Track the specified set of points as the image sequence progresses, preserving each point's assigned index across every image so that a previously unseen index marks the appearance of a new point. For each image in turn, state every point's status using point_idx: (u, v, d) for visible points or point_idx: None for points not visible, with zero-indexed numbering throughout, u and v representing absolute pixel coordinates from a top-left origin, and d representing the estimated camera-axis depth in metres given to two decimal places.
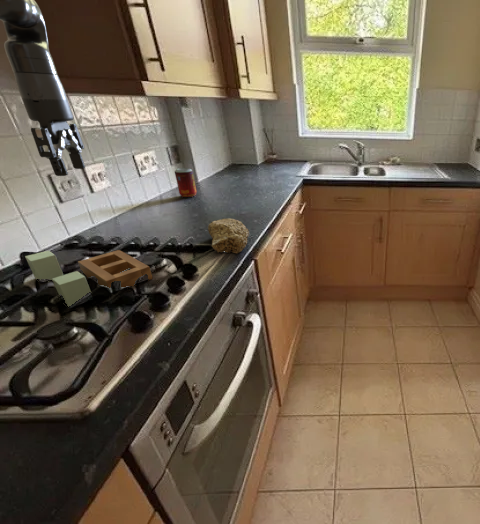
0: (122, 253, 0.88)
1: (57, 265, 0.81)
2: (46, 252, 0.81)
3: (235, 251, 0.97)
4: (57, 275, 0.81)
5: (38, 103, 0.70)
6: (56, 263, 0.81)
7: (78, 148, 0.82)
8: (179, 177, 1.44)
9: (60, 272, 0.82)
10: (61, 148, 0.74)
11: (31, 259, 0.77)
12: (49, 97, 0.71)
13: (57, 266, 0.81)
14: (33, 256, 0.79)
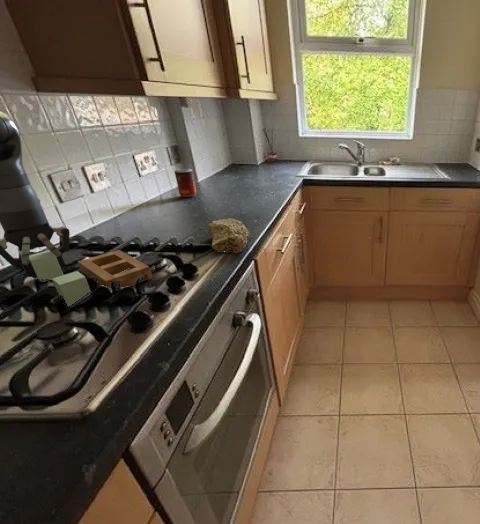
0: (122, 253, 0.88)
1: (57, 265, 0.81)
2: (46, 252, 0.81)
3: (235, 251, 0.97)
4: (57, 275, 0.81)
5: None
6: (56, 263, 0.81)
7: (54, 253, 0.80)
8: (179, 177, 1.44)
9: (60, 272, 0.82)
10: (25, 255, 0.76)
11: (31, 259, 0.77)
12: (1, 210, 0.70)
13: (57, 266, 0.81)
14: (33, 256, 0.79)
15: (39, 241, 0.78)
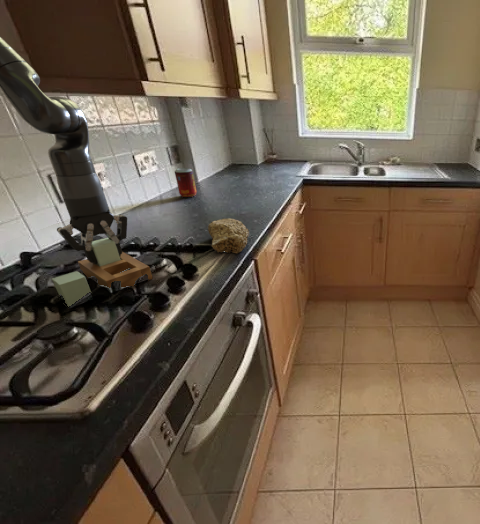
0: (122, 253, 0.88)
1: (116, 252, 0.83)
2: (106, 240, 0.83)
3: (235, 251, 0.97)
4: None
5: (65, 201, 0.74)
6: (115, 250, 0.83)
7: (113, 240, 0.83)
8: (179, 177, 1.44)
9: (118, 259, 0.84)
10: (89, 241, 0.78)
11: (93, 245, 0.80)
12: (70, 197, 0.73)
13: (116, 253, 0.83)
14: (95, 243, 0.81)
15: (101, 228, 0.80)
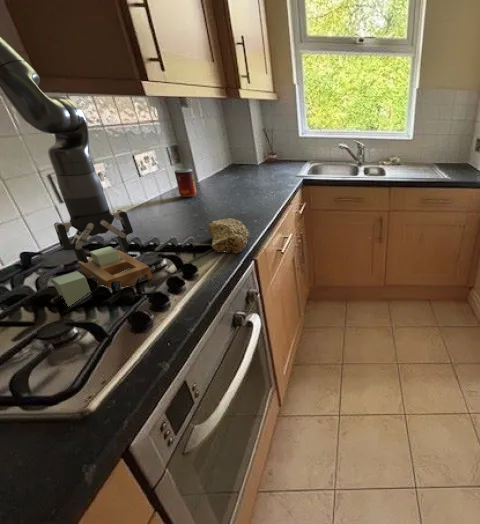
0: (122, 253, 0.88)
1: (119, 260, 0.84)
2: (109, 248, 0.84)
3: (235, 251, 0.97)
4: None
5: (65, 201, 0.74)
6: (118, 258, 0.84)
7: (120, 234, 0.84)
8: (179, 177, 1.44)
9: None
10: (82, 240, 0.77)
11: (97, 254, 0.81)
12: (70, 196, 0.73)
13: None
14: (98, 252, 0.82)
15: (101, 227, 0.80)
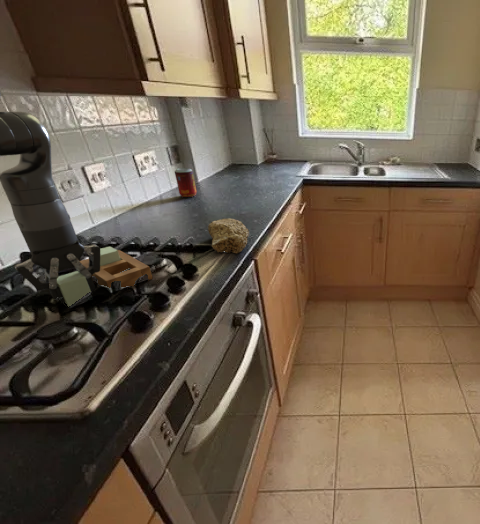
0: (122, 253, 0.88)
1: (119, 260, 0.84)
2: (109, 248, 0.84)
3: (235, 251, 0.97)
4: None
5: (22, 234, 0.63)
6: (118, 258, 0.84)
7: (84, 274, 0.72)
8: (179, 177, 1.44)
9: None
10: (53, 278, 0.67)
11: None
12: (28, 229, 0.62)
13: None
14: None
15: (68, 262, 0.69)
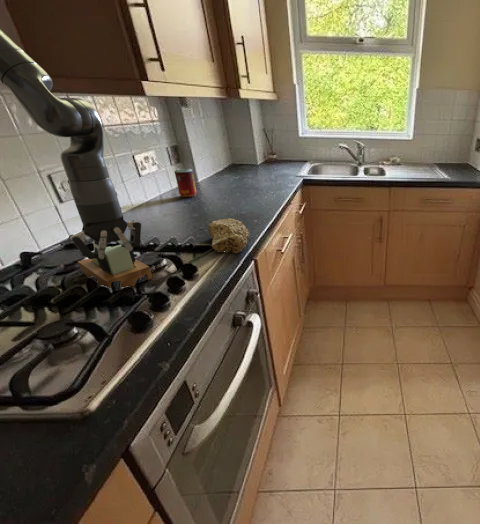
0: None
1: None
2: None
3: (235, 251, 0.97)
4: None
5: (78, 207, 0.70)
6: None
7: (127, 247, 0.79)
8: (179, 177, 1.44)
9: None
10: (102, 249, 0.75)
11: None
12: (84, 203, 0.69)
13: None
14: None
15: (114, 235, 0.77)
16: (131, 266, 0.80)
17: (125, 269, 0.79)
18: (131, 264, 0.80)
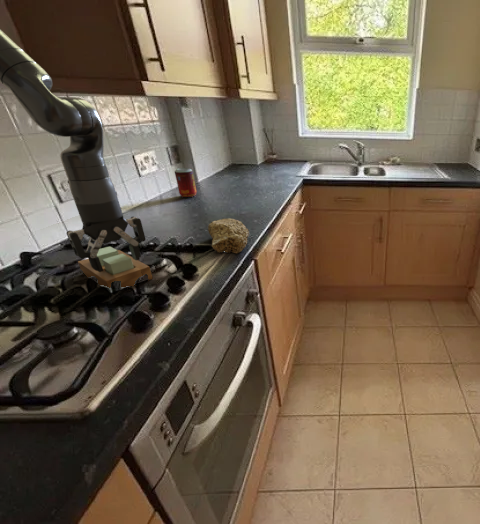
0: (122, 253, 0.88)
1: None
2: (108, 248, 0.84)
3: (235, 251, 0.97)
4: None
5: (77, 207, 0.70)
6: None
7: (132, 242, 0.80)
8: (179, 177, 1.44)
9: None
10: (96, 248, 0.74)
11: (97, 254, 0.81)
12: (84, 202, 0.69)
13: None
14: (98, 252, 0.82)
15: (114, 234, 0.76)
16: None
17: None
18: None
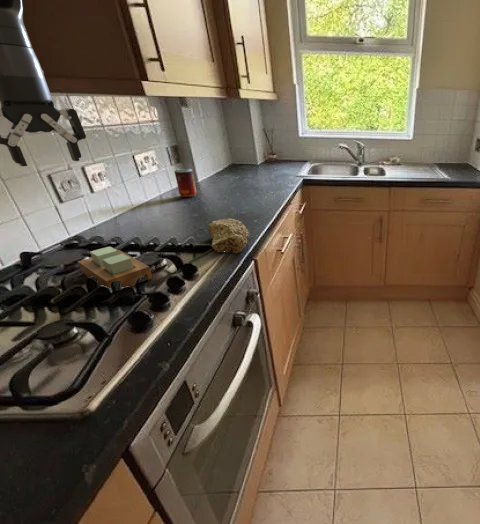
0: (122, 253, 0.88)
1: None
2: (108, 248, 0.84)
3: (235, 251, 0.97)
4: None
5: None
6: None
7: (69, 137, 0.70)
8: (179, 177, 1.44)
9: None
10: (17, 134, 0.63)
11: (97, 254, 0.81)
12: None
13: None
14: (98, 252, 0.82)
15: (43, 124, 0.66)
16: None
17: None
18: None
